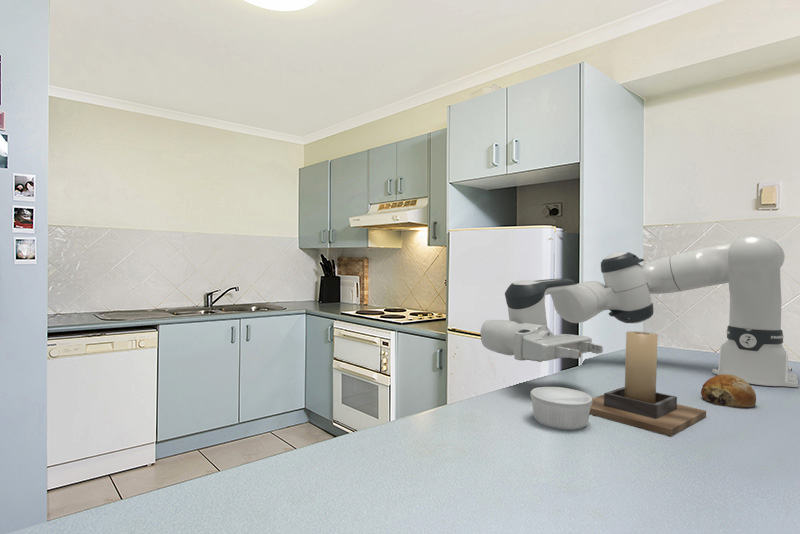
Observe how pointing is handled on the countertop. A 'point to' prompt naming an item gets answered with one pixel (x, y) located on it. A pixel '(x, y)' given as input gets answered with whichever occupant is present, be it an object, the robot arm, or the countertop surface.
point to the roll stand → (646, 412)
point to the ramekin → (561, 407)
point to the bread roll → (729, 391)
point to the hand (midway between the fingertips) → (590, 352)
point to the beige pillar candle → (641, 366)
